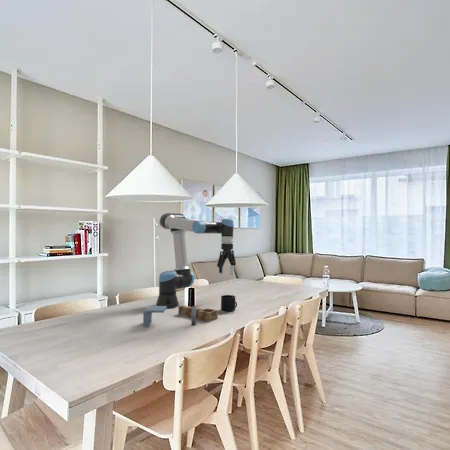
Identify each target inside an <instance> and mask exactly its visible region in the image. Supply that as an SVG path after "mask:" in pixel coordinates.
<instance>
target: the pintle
mask: <svg viewBox="0 0 450 450" xmlns="http://www.w3.org/2000/svg"><path fill="white" fill-rule="evenodd" d="M191 307H192V317H191V326H196V325H197V318H196V308H197V306H196V305H192V306H191Z"/></svg>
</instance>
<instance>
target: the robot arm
mask: <svg viewBox="0 0 450 450" xmlns="http://www.w3.org/2000/svg"><path fill="white" fill-rule="evenodd" d="M159 225H160V227H162V228H163V229H165V230H169V231H170V234H172V237H173V250H174V260H175V261H174V262H175V268H174V269H173V270H165V271H162V272H161V273H160V274H159V278H158V281H159V283H158V285H159V286H158V297H157V301H156V303H155V304H156V305H155V306H167V308H166V309H172V308H173V309H174V308H177V307H179V306H180V305H179V300H178V296H177V290H179V289H186V287H187V288H190V287H192V285H194V282H195V274H194V273H193V271H191V267H189V266H188V265H189V264H188V255H187V244H186V233H187V232H192V233H194V234H199V235H200V234H220V235H221V240H220V241H221V244H220V245H221V246H220V249H221V250H222V251H221V250H220V251H219V257H218V260H217V264H216V267H217V268H218V278H219V279H224V271H225V270H224V269H225V268H224V266H225V263H226V260H227V259H228V263H229V264H230V265H229V276H233V277H234V276H235V266H236V257H235V251H234V244H233V243H234V226H235V225H234V219H233V218H222V219H221V221H201V220H195V219H194V220H193V219H189V217H188V216H187V215H186V214H184V213H174V212H173V213H172V212H166V213H163V214H162V215H161V216H160V218H159Z"/></svg>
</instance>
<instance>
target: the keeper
mask: <svg viewBox="0 0 450 450" xmlns="http://www.w3.org/2000/svg"><path fill="white" fill-rule="evenodd" d="M167 309H168V308H167V306H156V305H148V307H146V308H145V309H144V311H143V313H142V314H143V315H142V316H143V323H142V325H143V327H147V328H149V327H150V326H151V324H152V321H153V319H152V318H153V314H154V313H159V314H160V313H162V314H163V313H164V312H165V311H166V310H167Z"/></svg>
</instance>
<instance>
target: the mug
mask: <svg viewBox="0 0 450 450" xmlns="http://www.w3.org/2000/svg"><path fill="white" fill-rule="evenodd" d="M237 306H238V302H237V301H236V296H235V295H233V294H223V295H221V296H220V310H221V311H222V312H225V313H230V312H235V311H236V308H237Z"/></svg>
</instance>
